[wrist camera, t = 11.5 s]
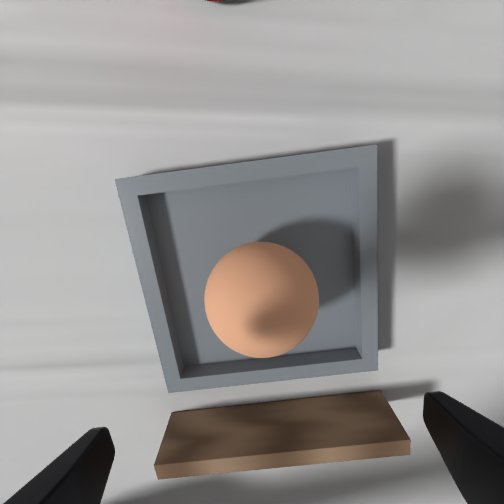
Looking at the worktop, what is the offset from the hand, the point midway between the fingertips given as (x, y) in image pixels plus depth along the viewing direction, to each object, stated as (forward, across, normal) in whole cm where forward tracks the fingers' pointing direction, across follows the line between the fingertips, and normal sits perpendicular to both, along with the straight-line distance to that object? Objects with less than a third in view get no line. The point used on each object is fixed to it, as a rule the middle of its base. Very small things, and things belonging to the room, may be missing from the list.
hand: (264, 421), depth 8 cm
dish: (+11, 0, 0) cm, 11 cm away
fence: (+11, 0, +11) cm, 15 cm away
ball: (+7, 0, 0) cm, 7 cm away
